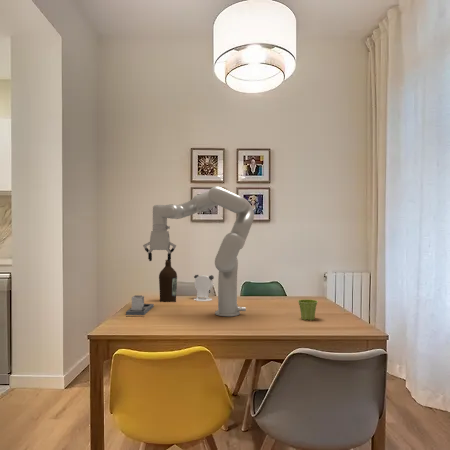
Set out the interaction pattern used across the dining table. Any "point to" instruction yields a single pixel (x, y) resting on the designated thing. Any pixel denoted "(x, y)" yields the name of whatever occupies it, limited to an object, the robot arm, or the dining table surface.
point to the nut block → (138, 303)
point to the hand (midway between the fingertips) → (159, 260)
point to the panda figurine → (203, 287)
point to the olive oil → (168, 283)
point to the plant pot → (307, 309)
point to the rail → (146, 309)
